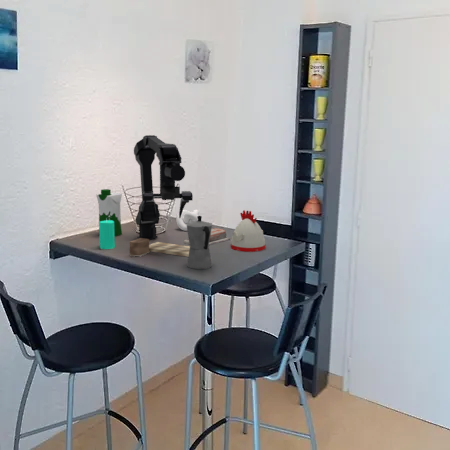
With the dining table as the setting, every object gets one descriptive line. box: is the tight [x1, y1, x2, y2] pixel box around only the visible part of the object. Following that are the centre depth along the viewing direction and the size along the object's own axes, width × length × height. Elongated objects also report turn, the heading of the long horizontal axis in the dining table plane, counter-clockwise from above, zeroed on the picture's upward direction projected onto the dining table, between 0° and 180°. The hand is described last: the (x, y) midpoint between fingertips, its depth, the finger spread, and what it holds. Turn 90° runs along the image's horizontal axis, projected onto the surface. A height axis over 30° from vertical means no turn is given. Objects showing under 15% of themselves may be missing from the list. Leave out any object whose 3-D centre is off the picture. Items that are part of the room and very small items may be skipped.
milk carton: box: [96, 188, 123, 237], centre depth 240 cm, size 9×9×20 cm
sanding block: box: [129, 238, 150, 257], centre depth 211 cm, size 4×7×6 cm, turn 154°
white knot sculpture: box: [175, 209, 200, 232], centre depth 254 cm, size 11×12×9 cm
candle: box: [98, 218, 116, 250], centre depth 219 cm, size 6×6×12 cm
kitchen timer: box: [230, 209, 266, 253], centre depth 222 cm, size 14×14×15 cm
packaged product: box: [183, 227, 231, 246], centre depth 232 cm, size 18×5×10 cm
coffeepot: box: [186, 215, 213, 270], centre depth 195 cm, size 15×9×18 cm, turn 22°
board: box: [149, 241, 190, 257], centre depth 217 cm, size 20×10×1 cm, turn 64°
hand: (167, 218), depth 214 cm, fingers open, 9 cm apart
